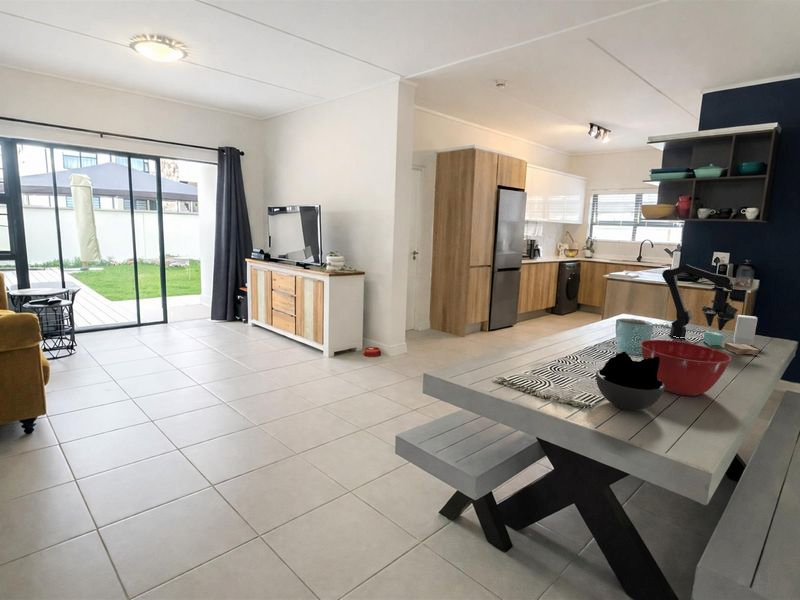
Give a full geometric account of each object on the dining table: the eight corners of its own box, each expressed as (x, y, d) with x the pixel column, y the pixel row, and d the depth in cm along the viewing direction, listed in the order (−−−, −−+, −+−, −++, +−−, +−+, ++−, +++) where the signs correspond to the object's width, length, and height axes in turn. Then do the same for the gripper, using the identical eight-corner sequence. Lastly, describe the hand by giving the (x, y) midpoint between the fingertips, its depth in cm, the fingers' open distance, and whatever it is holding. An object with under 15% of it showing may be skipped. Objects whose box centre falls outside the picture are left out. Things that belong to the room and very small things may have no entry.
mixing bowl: (617, 378, 171) (623, 340, 168) (669, 372, 181) (675, 337, 178) (686, 408, 145) (694, 364, 142) (741, 400, 155) (750, 359, 152)
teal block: (709, 345, 230) (711, 334, 229) (702, 342, 236) (704, 331, 235) (721, 346, 230) (723, 335, 229) (714, 343, 236) (716, 332, 235)
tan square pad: (736, 354, 216) (737, 348, 216) (723, 348, 226) (725, 342, 225) (757, 355, 215) (759, 349, 215) (744, 349, 225) (745, 344, 225)
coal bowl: (582, 404, 143) (589, 350, 140) (605, 390, 157) (613, 340, 154) (648, 427, 129) (659, 367, 126) (667, 409, 143) (677, 355, 140)
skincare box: (751, 344, 238) (756, 316, 235) (752, 347, 232) (758, 318, 229) (732, 341, 242) (737, 314, 239) (733, 343, 237) (739, 316, 234)
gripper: (748, 304, 219) (742, 334, 222) (725, 297, 237) (720, 325, 240) (725, 302, 220) (719, 332, 223) (704, 296, 238) (698, 323, 241)
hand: (714, 328), depth 232 cm, fingers open, 9 cm apart
